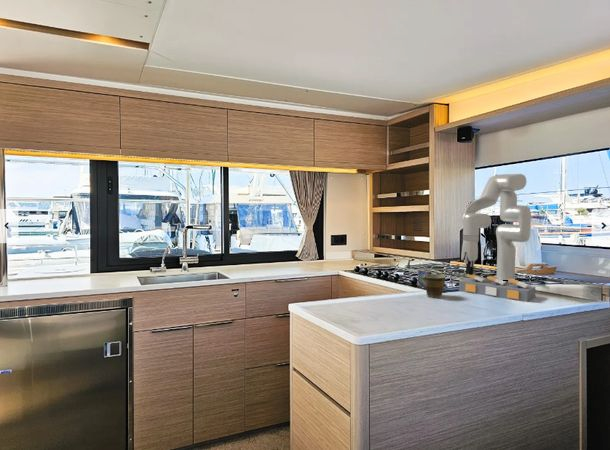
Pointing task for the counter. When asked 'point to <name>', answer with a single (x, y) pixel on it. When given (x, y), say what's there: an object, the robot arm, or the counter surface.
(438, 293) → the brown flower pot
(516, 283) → the switch
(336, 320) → the counter surface
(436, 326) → the counter surface
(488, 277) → the switch
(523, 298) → the switch box
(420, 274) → the flask
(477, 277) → the switch
